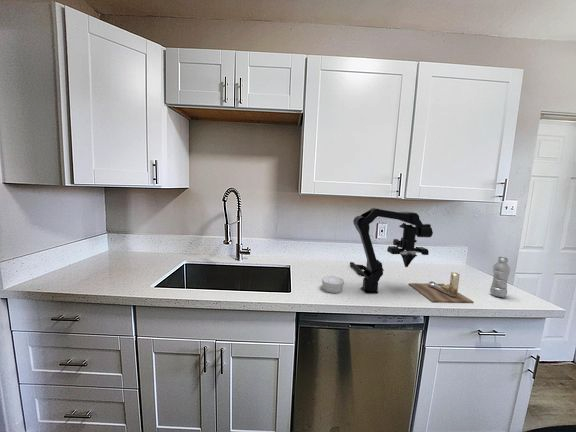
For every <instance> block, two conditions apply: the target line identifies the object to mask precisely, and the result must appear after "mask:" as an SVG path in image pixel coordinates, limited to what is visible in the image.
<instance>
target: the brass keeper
mask: <svg viewBox="0 0 576 432" xmlns="http://www.w3.org/2000/svg"><path fill="white" fill-rule="evenodd" d="M449 285H450V284H445V285H443V286H441V288H442V289H445V290H449Z"/></svg>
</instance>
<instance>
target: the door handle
mask: <svg viewBox="0 0 576 432" xmlns="http://www.w3.org/2000/svg"><path fill="white" fill-rule="evenodd" d="M349 266H350V267H351V268H352V270H353V271H354V272H355V273H356V274H357V275H360V277H364V276H363V274H362V272H363V271H364V270H366V269H367V265H364V264H359V263H358V264H356V263H354V262H353V261H350V262H349Z"/></svg>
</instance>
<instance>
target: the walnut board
mask: <svg viewBox="0 0 576 432" xmlns="http://www.w3.org/2000/svg"><path fill="white" fill-rule="evenodd" d="M436 284H437V285H439V286H443V285H446V283H436ZM408 286H410V287H411V288H412V289H414V290H415V291H416V292H418V293H419V294H421V295H422V296H423V297H424V298H426V299H427V300H428V301H430V302H431V303H435V304H436V303H440V304H442V303H445V304H447V303H449V304H450V303H451V304H474V303H475V302H474V301H473V300H472V299H470V298H468V297H467V296H465V295H463V294H462V293H460V292H457V295H456V296H450V295H448V294H446V293H444V292H442V291H440V290H438V289H436V288H433V287H429V286H428V283H426V282H425V283H419V282H415V283H414V282H409V283H408Z"/></svg>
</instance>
